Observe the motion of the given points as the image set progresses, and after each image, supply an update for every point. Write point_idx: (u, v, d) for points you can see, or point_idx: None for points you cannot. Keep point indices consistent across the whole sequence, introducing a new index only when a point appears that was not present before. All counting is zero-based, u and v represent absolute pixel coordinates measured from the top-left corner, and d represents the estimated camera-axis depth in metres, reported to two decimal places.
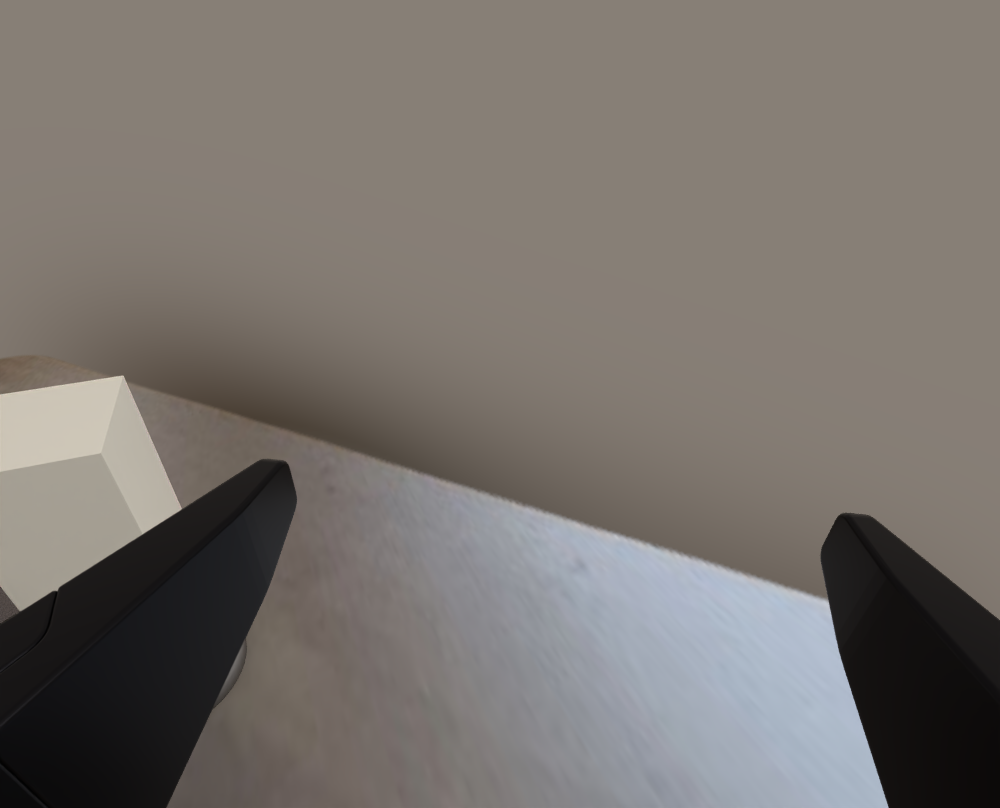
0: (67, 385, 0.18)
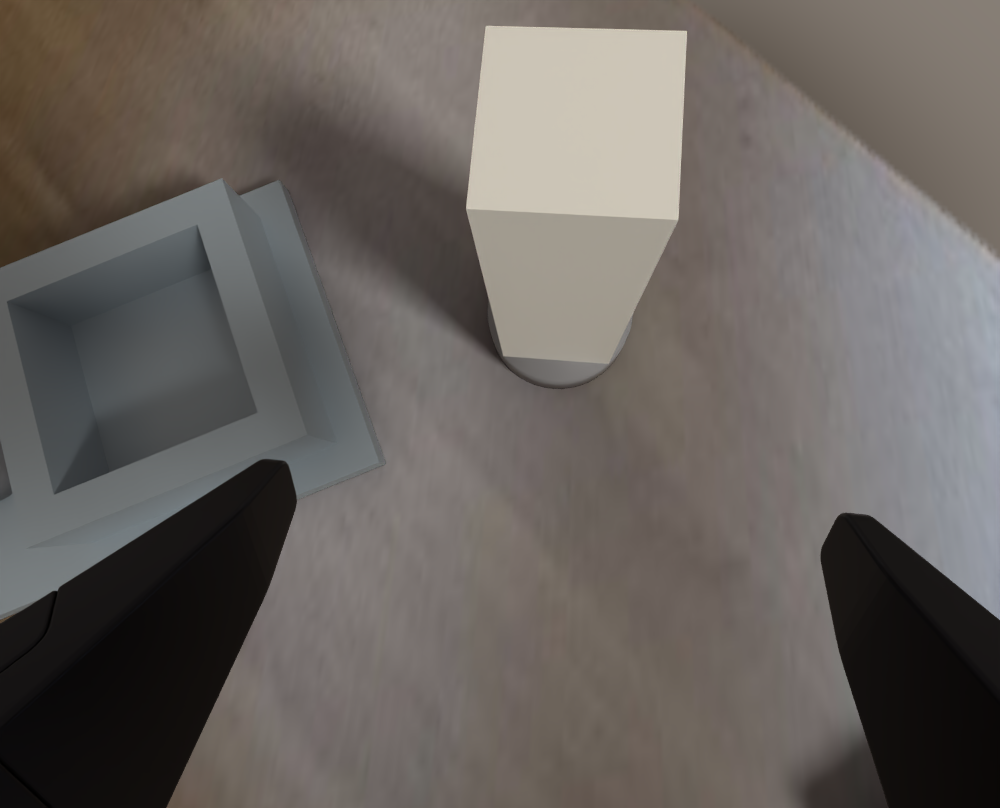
0: (606, 31, 0.12)
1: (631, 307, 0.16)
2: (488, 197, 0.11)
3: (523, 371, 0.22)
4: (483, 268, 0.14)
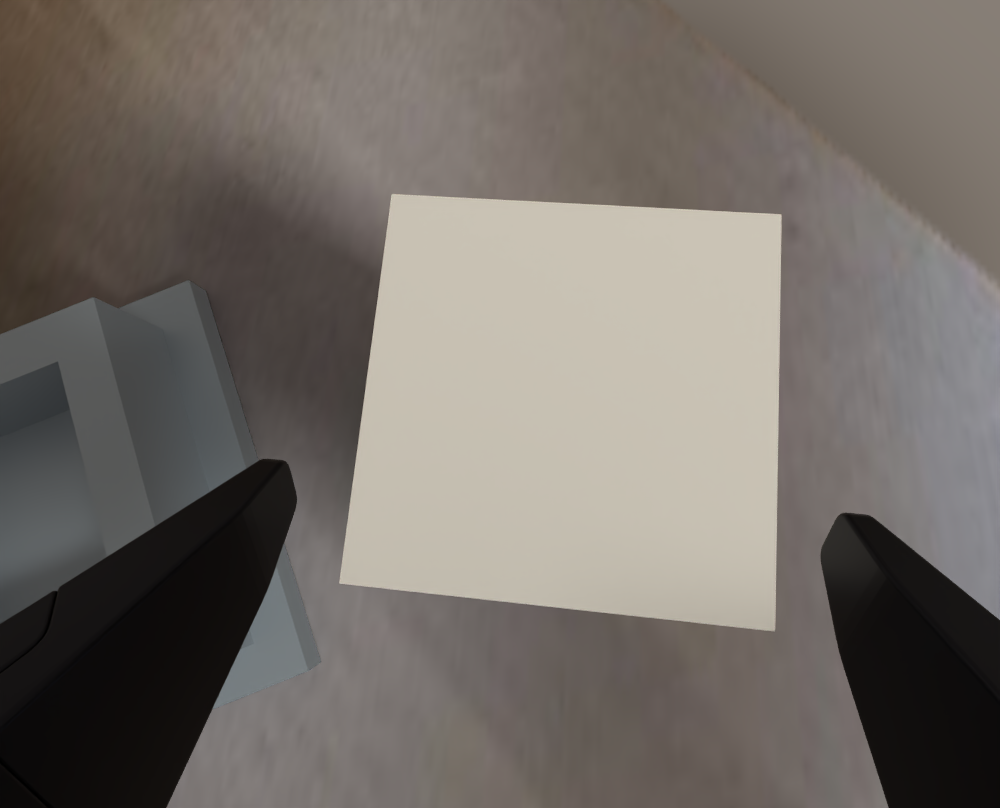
0: (623, 211, 0.06)
1: None
2: (384, 558, 0.06)
3: None
4: None
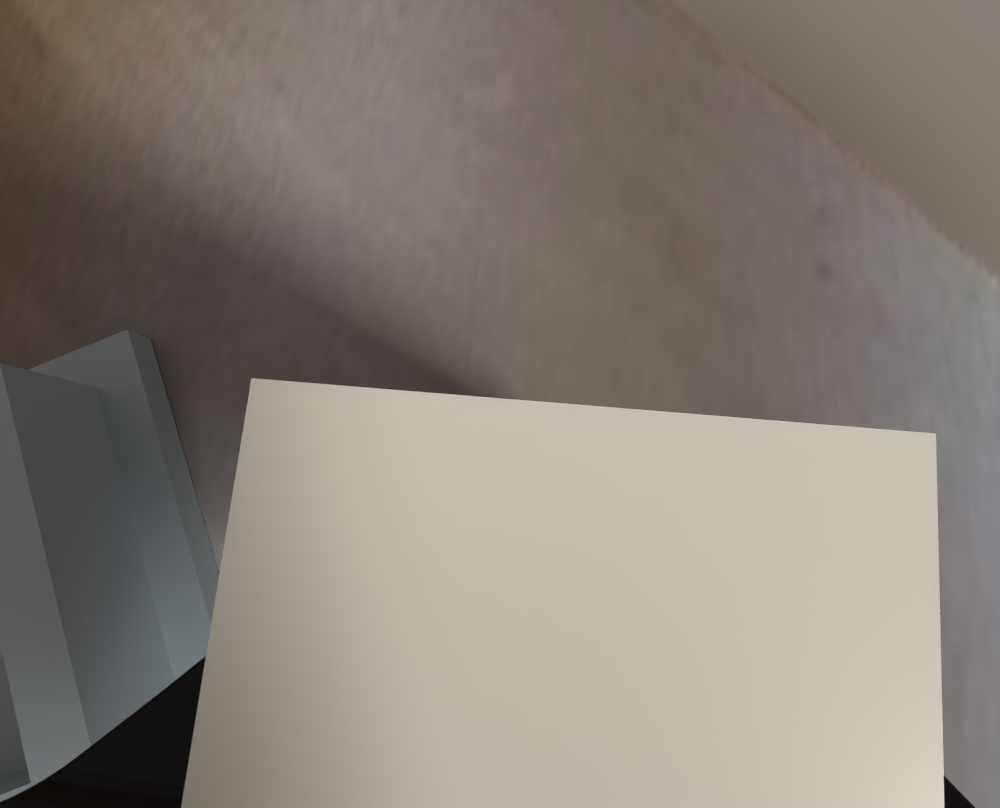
0: (651, 419, 0.03)
1: None
2: None
3: None
4: None
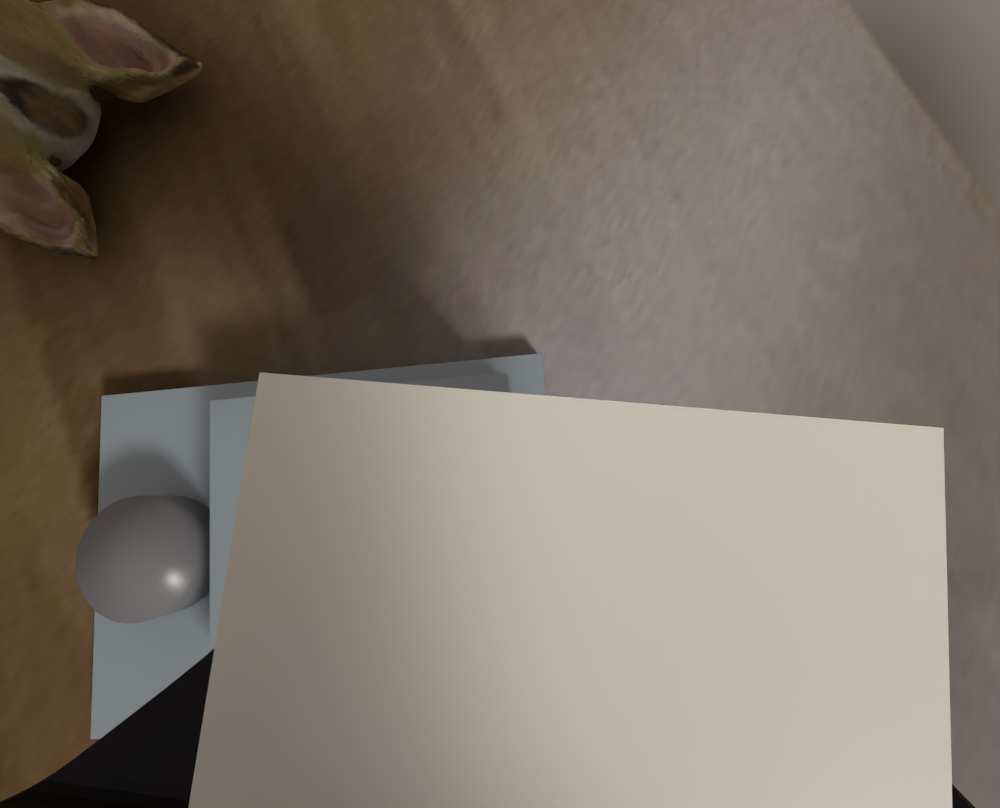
0: (658, 416, 0.03)
1: None
2: None
3: None
4: None
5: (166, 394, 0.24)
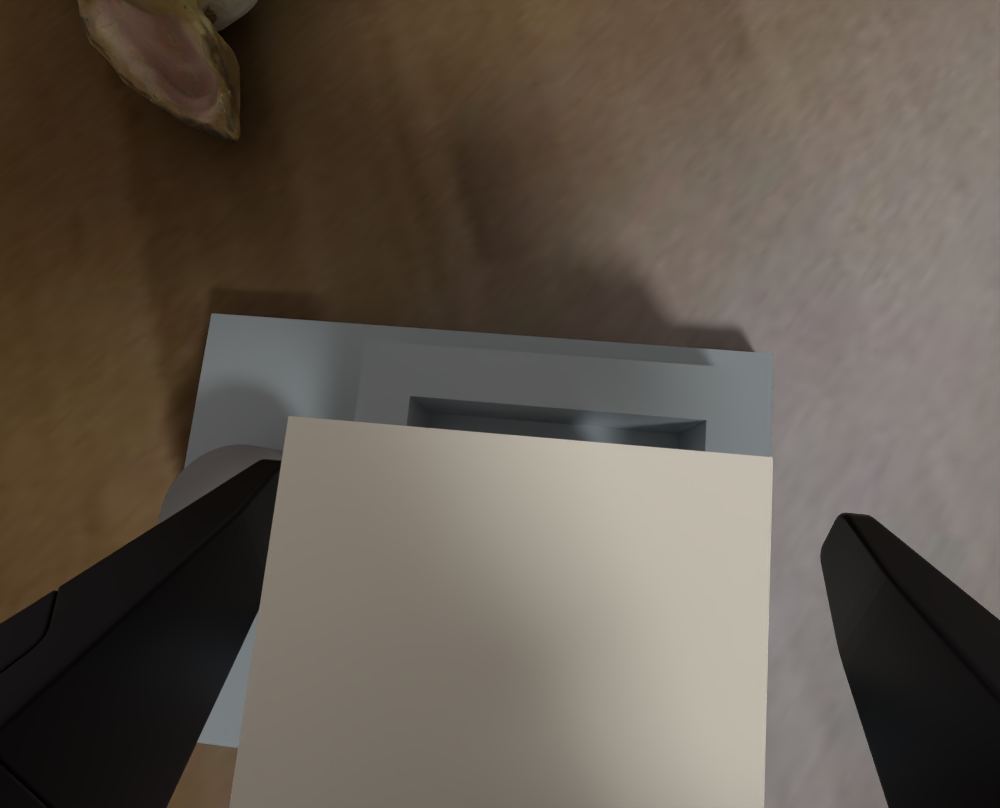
0: (570, 447, 0.05)
1: None
2: None
3: None
4: None
5: (290, 325, 0.19)
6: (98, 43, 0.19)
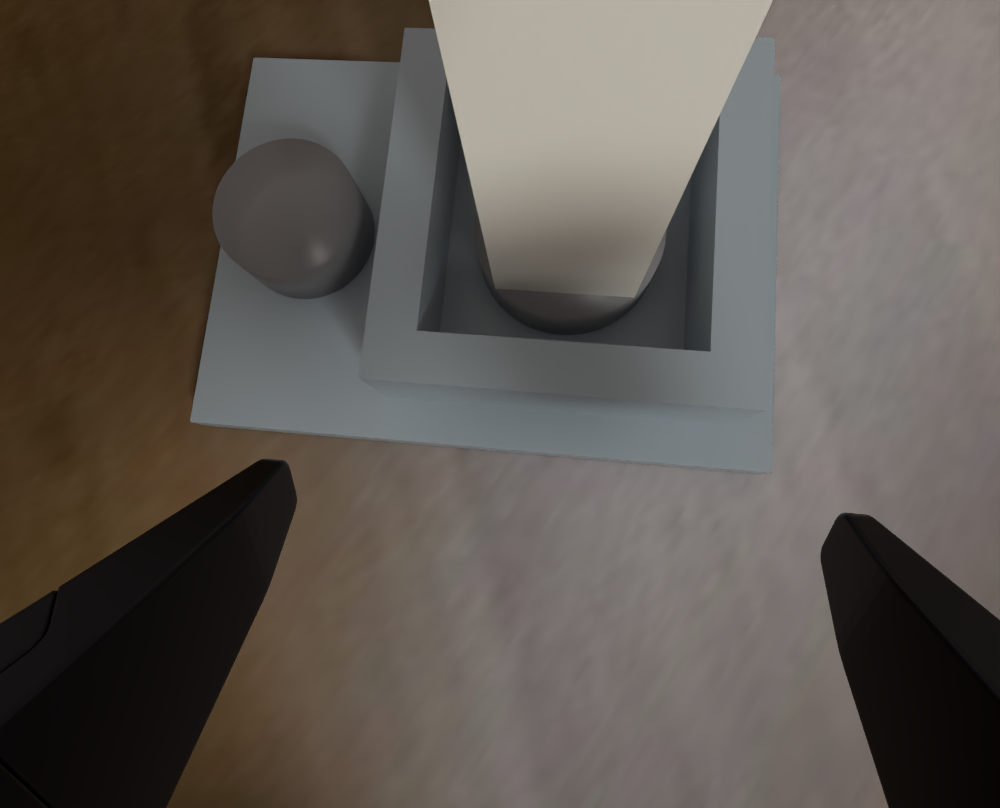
0: None
1: (684, 175, 0.10)
2: None
3: (521, 308, 0.17)
4: (452, 85, 0.09)
5: (328, 65, 0.20)
6: None
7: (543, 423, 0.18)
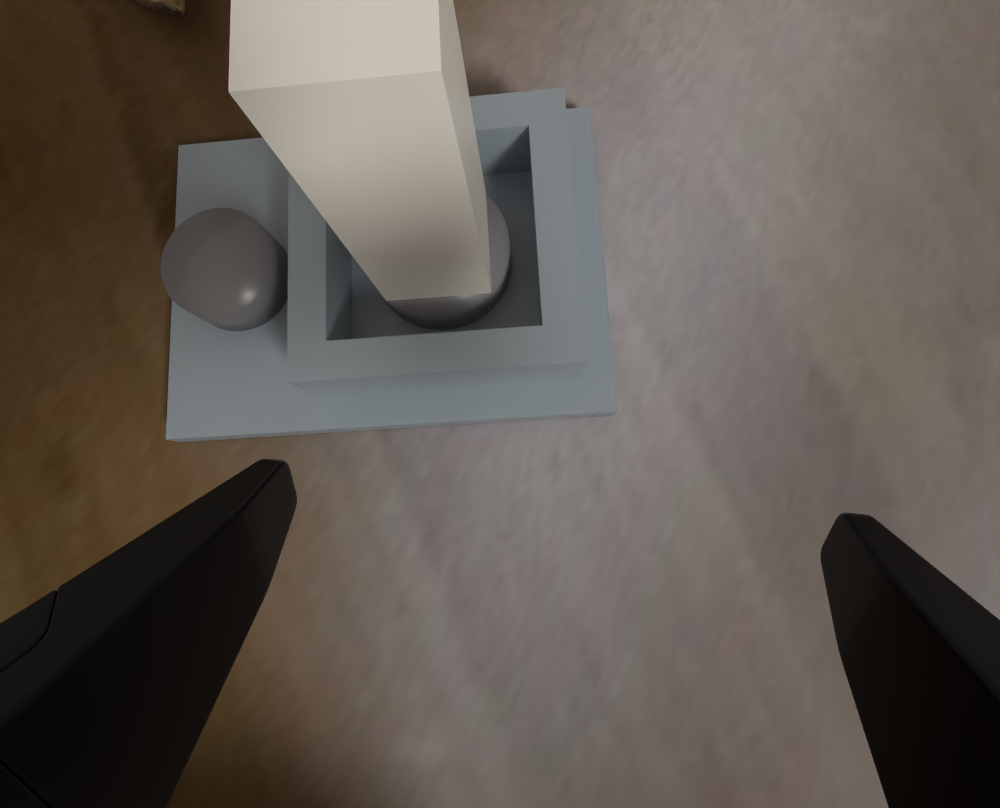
0: None
1: (468, 207, 0.16)
2: (249, 76, 0.11)
3: (408, 313, 0.22)
4: (295, 176, 0.14)
5: (239, 143, 0.25)
6: None
7: (441, 399, 0.23)
